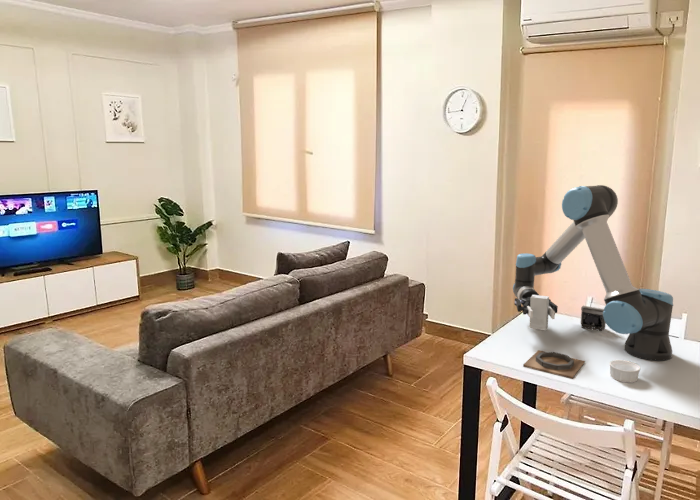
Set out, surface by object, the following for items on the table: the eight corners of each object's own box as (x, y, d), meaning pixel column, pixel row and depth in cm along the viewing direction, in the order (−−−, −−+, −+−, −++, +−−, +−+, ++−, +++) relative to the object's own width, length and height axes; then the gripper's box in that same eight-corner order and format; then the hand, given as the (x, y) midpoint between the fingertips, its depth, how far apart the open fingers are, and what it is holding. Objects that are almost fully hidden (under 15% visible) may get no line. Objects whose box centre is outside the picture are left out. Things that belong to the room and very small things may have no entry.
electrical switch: (605, 328, 219) (607, 307, 216) (603, 333, 215) (605, 312, 212) (580, 324, 224) (582, 304, 221) (578, 329, 220) (579, 308, 217)
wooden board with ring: (584, 362, 186) (585, 356, 185) (572, 378, 173) (573, 372, 173) (538, 351, 195) (538, 346, 195) (523, 366, 182) (523, 360, 182)
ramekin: (625, 385, 168) (627, 373, 168) (602, 374, 176) (603, 362, 176) (645, 380, 172) (646, 368, 171) (621, 370, 180) (622, 358, 179)
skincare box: (548, 327, 199) (550, 296, 197) (545, 331, 195) (548, 299, 193) (530, 325, 202) (532, 293, 200) (528, 328, 198) (530, 296, 196)
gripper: (553, 307, 215) (570, 326, 192) (503, 306, 217) (513, 324, 194) (555, 289, 213) (572, 305, 191) (503, 288, 215) (514, 304, 193)
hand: (542, 315), depth 193 cm, fingers closed on skincare box, 7 cm apart
